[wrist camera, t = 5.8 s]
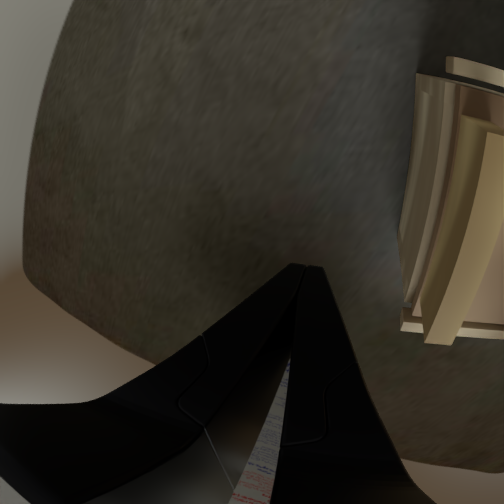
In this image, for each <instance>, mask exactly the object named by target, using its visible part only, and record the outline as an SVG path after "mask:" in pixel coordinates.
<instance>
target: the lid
mask: <svg viewBox="0 0 504 504" xmlns="http://www.w3.org/2000/svg"><path fill="white" fill-rule="evenodd" d="M411 311H412V316H419V317H422V323H423V333H424V343H432V344H444V345H452V343H453V341H454V339H455V337H456V335H457V333H458V331H459V329H460V327H461V325H462V323H463V321H469V322H481V323H493V324H504V97H503V96H500V95H497V94H493V93H490V92H486V91H482V90H479V89H475V88H471V87H467V86H463V85H458V84H456V89H455V102H454V114H453V123H452V132H451V140H450V147H449V154H448V161H447V167H446V173H445V179H444V184H443V189H442V194H441V199H440V204H439V209H438V213H437V218H436V222H435V226H434V230H433V234H432V238H431V242H430V246H429V250H428V253H427V257H426V261H425V264H424V268H423V271H422V274H421V278H420V281H419V284H418V287H417V291H416V294H415V297H414V300H413V303H412V306H411Z"/></svg>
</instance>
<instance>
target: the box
mask: <svg viewBox="0 0 504 504" xmlns="http://www.w3.org/2000/svg"><path fill="white" fill-rule="evenodd" d="M446 72H447V73H452V74H456V75H461V76H465V77H469V78H473V79H477V80H480V81H484V82H488V83H491V84H494V85H498V86H501V87H504V70H501V69H498V68H494V67H491V66H488V65H484V64H481V63H477V62H474V61H470V60H466V59H462V58H458V57H451V56H446ZM456 84H458V85H463V86H467V87H471V88H475V89H479V90H482V91H486V92H490V93H493V94H497V95H500V96H503V97H504V93H500V92H497V91H494V90H490V89H487V88H483V87H479V86H475V85H472V84H467V83H463V82H459V81H455V80H450V79H446V78H441V77H436V76H430V75H425V74H419V73H416V86H415V105H414V119H413V130H412V141H411V150H410V159H409V167H408V174H407V181H406V188H405V194H404V201H403V207H402V212H401V218H400V224H399V229H398V234H397V240H398V247H399V255H400V263H401V271H402V281H403V291H404V302H410V303H413V300H414V297H415V294H416V291H417V287H418V284H419V281H420V278H421V274H422V271H423V268H424V264H425V261H426V257H427V253H428V250H429V246H430V242H431V238H432V234H433V230H434V226H435V222H436V218H437V213H438V209H439V204H440V199H441V194H442V189H443V184H444V179H445V173H446V167H447V161H448V154H449V147H450V140H451V132H452V123H453V114H454V102H455V89H456ZM400 330H401V331H409V332H419V333H423V323H422V317H419V316H412V311H411V308H406V307H403V308H402V311H401V314H400ZM456 336H463V337H476V338H491V339H504V324H493V323H481V322H469V321H463V323H462V325H461V327H460V329H459V331H458V333H457V335H456Z"/></svg>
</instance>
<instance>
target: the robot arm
mask: <svg viewBox="0 0 504 504" xmlns="http://www.w3.org/2000/svg"><path fill="white" fill-rule="evenodd" d="M290 357H291V359H290ZM289 360H290V368H289V377H288V386H287V394H286V402H285V410H284V418H283V426H282V433H281V440H280V449H279V454H278V461H277V467H276V473H275V478H274V483H273V488H272V493H271V498H270V502H269V504H436V503H435V502H434V501H433V500H432V499H431V498H429V497H428V496H427V495H426V494H425V493H424V492H423V491H422V490H421V489H420V488H419V487H418V486H417V485H416V484H415V483H414V482H413V480H412V479H411V477H410V476H409V474H408V472H407V471H406V469H405V467H404V465H403V463H402V461H401V459H400V457H399V455H398V453H397V451H396V449H395V446H394V444H393V442H392V440H391V438H390V436H389V434H388V432H387V430H386V428H385V426H384V424H383V422H382V420H381V418H380V416H379V413H378V411H377V409H376V407H375V405H374V402H373V400H372V398H371V396H370V393H369V391H368V388H367V385H366V383H365V380H364V377H363V374H362V371H361V369H360V366H359V363H357V362H358V360H357V357H356V354H355V352H354V349H353V346H352V343H351V340H350V337H349V335H348V332H347V329H346V326H345V324H344V321H343V318H342V315H341V313H340V310H339V307H338V305H337V302H336V299H335V297H334V294H333V291H332V289H331V286H330V283H329V281H328V278H327V276H326V273H325V271H324V268H323V267H320V266H312V265H309V266H307V267H306V265H304V264H296V263H290V264H289V265H287V266H286V267H285V268H284V269H282V270H281V271H280V272H279V273H277V274H276V275H275V276H274V277H273V278H271V279H270V280H269V281H268V282H266V283H265V284H264V285H263V286H261V287H260V288H259V289H258V290H256V291H255V292H254V293H253V294H251V295H250V296H249V297H248V298H246V299H245V300H244V301H243V302H241V303H240V304H239V305H238V306H236V307H235V308H234V309H232V310H231V311H230V312H229V313H227V314H226V315H225V316H224V317H222V318H221V319H220V320H218V321H217V322H216V323H215V324H213V325H212V326H211V327H210V328H208V329H207V330H206V331H204V332H203V333H202V336H201V335H199V336H198V337H196V338H195V339H194V340H193V341H191V342H190V343H189V344H187V345H186V346H184V347H183V348H182V349H180V350H179V351H178V352H176V353H175V354H173V355H172V356H170V357H169V358H167V359H166V360H164V361H163V362H161V363H159V364H158V365H156V366H155V367H153V368H152V369H150V370H148V371H146V372H145V373H143V374H141V375H139V376H138V377H136V378H134V379H133V380H131V381H129V382H127V383H126V384H124V385H122V386H121V387H119V388H117V389H115V390H114V391H112V392H110V393H108V394H106V395H104V396H102V397H100V398H97V399H95V400H91V401H88V402H82V403H70V404H2V403H0V504H228V503H229V501H230V499H231V497H232V495H233V493H234V491H233V490H235V488H236V486H237V484H238V482H239V480H240V477H241V475H242V473H243V471H244V469H245V466H246V464H247V462H248V460H249V457H250V455H251V453H252V451H253V448H254V446H255V444H256V441H257V439H258V437H259V434H260V432H261V430H262V427H263V425H264V423H265V420H266V418H267V415H268V413H269V411H270V408H271V406H272V403H273V401H274V398H275V396H276V393H277V391H278V388H279V386H280V383H281V380H282V378H283V375H284V373H285V370H286V367H287V365H288V362H289Z"/></svg>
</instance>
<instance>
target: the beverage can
mask: <svg viewBox="0 0 504 504" xmlns="http://www.w3.org/2000/svg"><path fill="white" fill-rule="evenodd" d="M289 368H290V360H289V362H288V365H287V367H286V370H285V373H284V375H283V378H282V380H281V383H280V386H279V388H278V391H277V393H276V396H275V398H274V401H273V403H272V406H271V408H270V411H269V413H268V415H267V418H266V420H265V423H264V425H263V427H262V430H261V432H260V434H259V437H258V439H257V441H256V444H255V446H254V448H253V451H252V453H251V455H250V457H249V460H248V462H247V464H246V466H245V469H244V471H243V473H242V475H241V477H240V480H239V482H238V484H237V486H236V488H235V490H233V491H234V493H233V495H232V497H231V499H230V501H229V503H228V504H269V502H270V498H271V493H272V488H273V483H274V478H275V473H276V467H277V461H278V454H279V449H280V440H281V433H282V426H283V418H284V410H285V402H286V394H287V386H288V377H289Z"/></svg>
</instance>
